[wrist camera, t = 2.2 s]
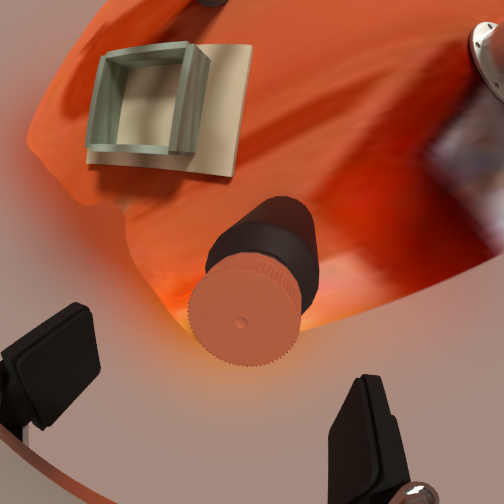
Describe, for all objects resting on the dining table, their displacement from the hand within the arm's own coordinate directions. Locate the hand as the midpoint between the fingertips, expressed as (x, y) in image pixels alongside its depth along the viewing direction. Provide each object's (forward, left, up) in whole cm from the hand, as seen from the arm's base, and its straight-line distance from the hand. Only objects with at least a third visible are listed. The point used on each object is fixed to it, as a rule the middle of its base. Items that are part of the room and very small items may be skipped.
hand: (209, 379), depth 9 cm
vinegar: (0, 0, -24) cm, 24 cm away
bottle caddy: (+16, -12, -24) cm, 31 cm away
